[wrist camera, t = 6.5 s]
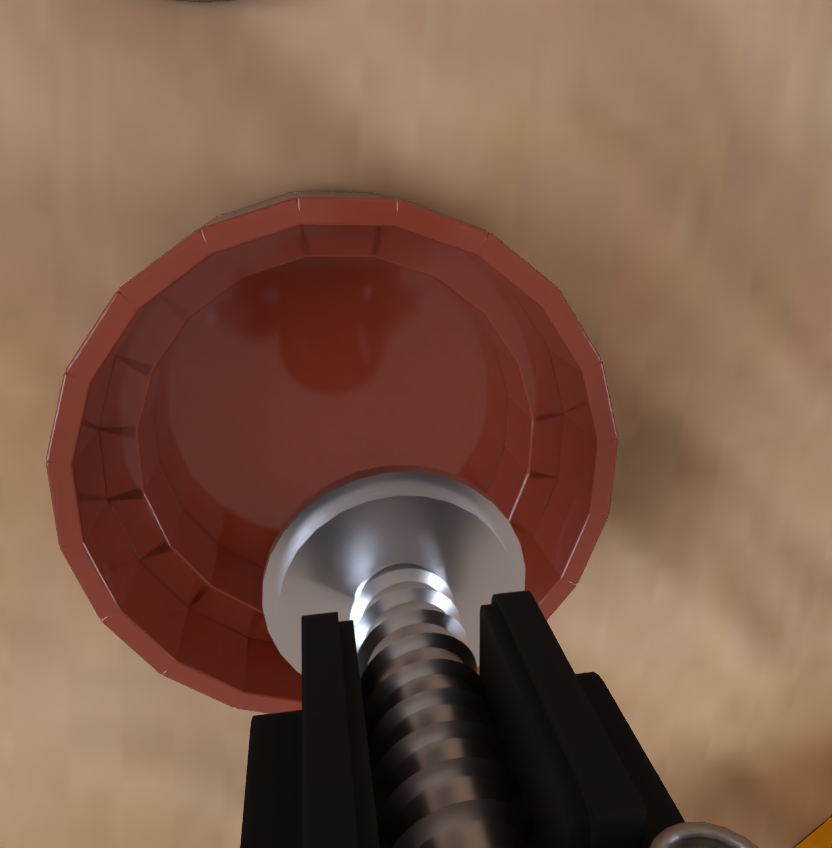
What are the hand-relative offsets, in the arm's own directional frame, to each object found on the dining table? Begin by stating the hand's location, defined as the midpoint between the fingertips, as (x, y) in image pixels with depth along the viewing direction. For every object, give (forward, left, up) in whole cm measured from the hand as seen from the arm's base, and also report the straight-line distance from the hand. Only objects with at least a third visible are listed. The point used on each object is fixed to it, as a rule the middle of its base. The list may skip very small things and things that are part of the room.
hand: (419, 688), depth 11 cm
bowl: (0, 0, -13) cm, 13 cm away
